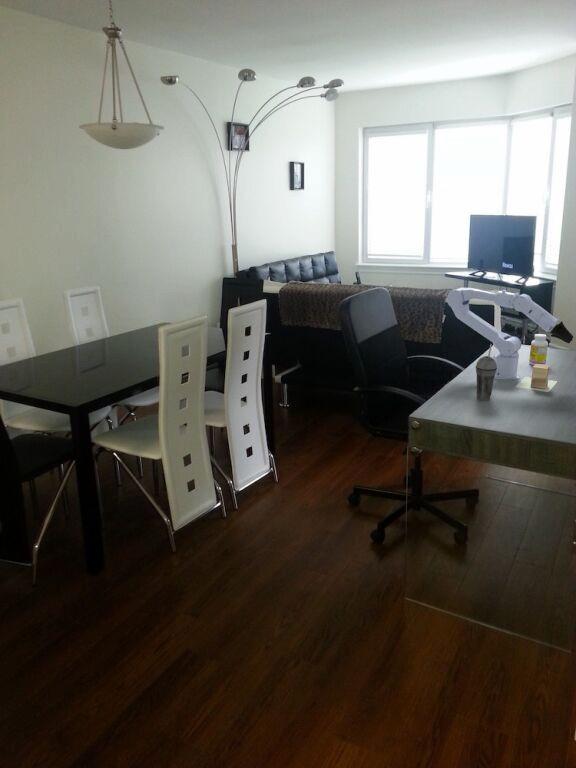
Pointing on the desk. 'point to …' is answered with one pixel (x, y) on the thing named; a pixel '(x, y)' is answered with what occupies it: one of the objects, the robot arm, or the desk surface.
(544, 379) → the tan block
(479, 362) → the beverage cup
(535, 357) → the supplement bottle
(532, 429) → the desk surface
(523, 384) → the mat
